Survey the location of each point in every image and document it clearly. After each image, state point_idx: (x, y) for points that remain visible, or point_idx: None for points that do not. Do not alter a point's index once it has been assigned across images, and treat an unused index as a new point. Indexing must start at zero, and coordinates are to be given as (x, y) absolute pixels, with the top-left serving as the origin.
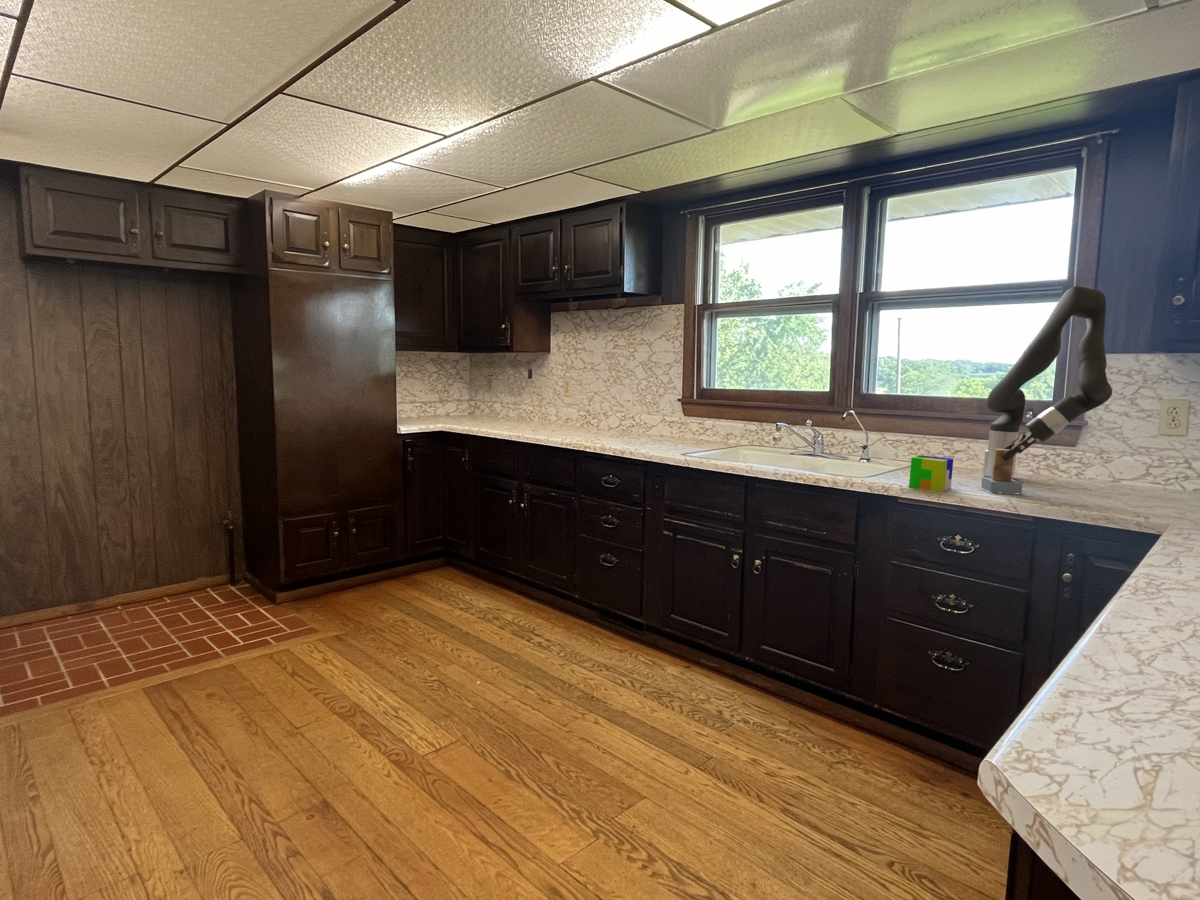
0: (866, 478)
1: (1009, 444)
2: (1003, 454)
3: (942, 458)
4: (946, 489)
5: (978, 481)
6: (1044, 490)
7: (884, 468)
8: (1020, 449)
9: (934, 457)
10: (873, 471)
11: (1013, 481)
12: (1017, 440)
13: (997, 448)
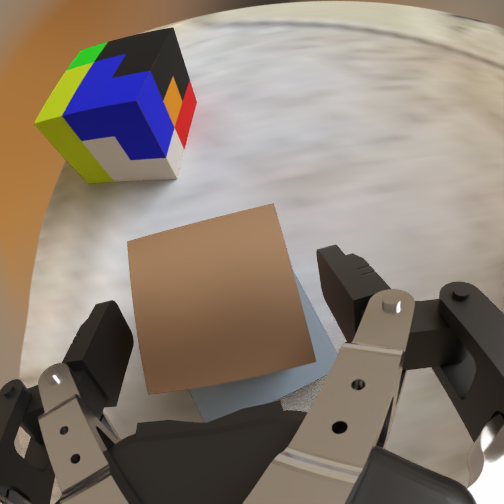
0: (198, 30)
1: (367, 310)
2: (91, 314)
3: (111, 84)
4: (131, 180)
5: (444, 215)
6: (422, 460)
7: (404, 25)
8: (27, 432)
9: (128, 62)
10: (331, 15)
11: (245, 386)
12: (75, 429)
13: (278, 223)
